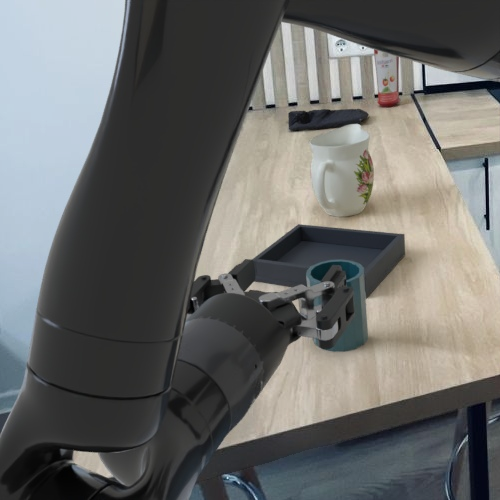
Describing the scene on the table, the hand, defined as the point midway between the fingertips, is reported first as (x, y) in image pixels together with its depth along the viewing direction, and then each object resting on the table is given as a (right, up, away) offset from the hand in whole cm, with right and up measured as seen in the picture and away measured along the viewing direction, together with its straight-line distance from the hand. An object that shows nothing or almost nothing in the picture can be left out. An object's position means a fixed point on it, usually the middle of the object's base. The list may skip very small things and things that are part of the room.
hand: (293, 271), depth 60 cm
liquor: (+38, +45, +137) cm, 149 cm away
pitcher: (+13, +9, +57) cm, 59 cm away
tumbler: (+7, -10, +15) cm, 19 cm away
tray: (+8, -1, +36) cm, 37 cm away
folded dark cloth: (+18, +37, +124) cm, 131 cm away
